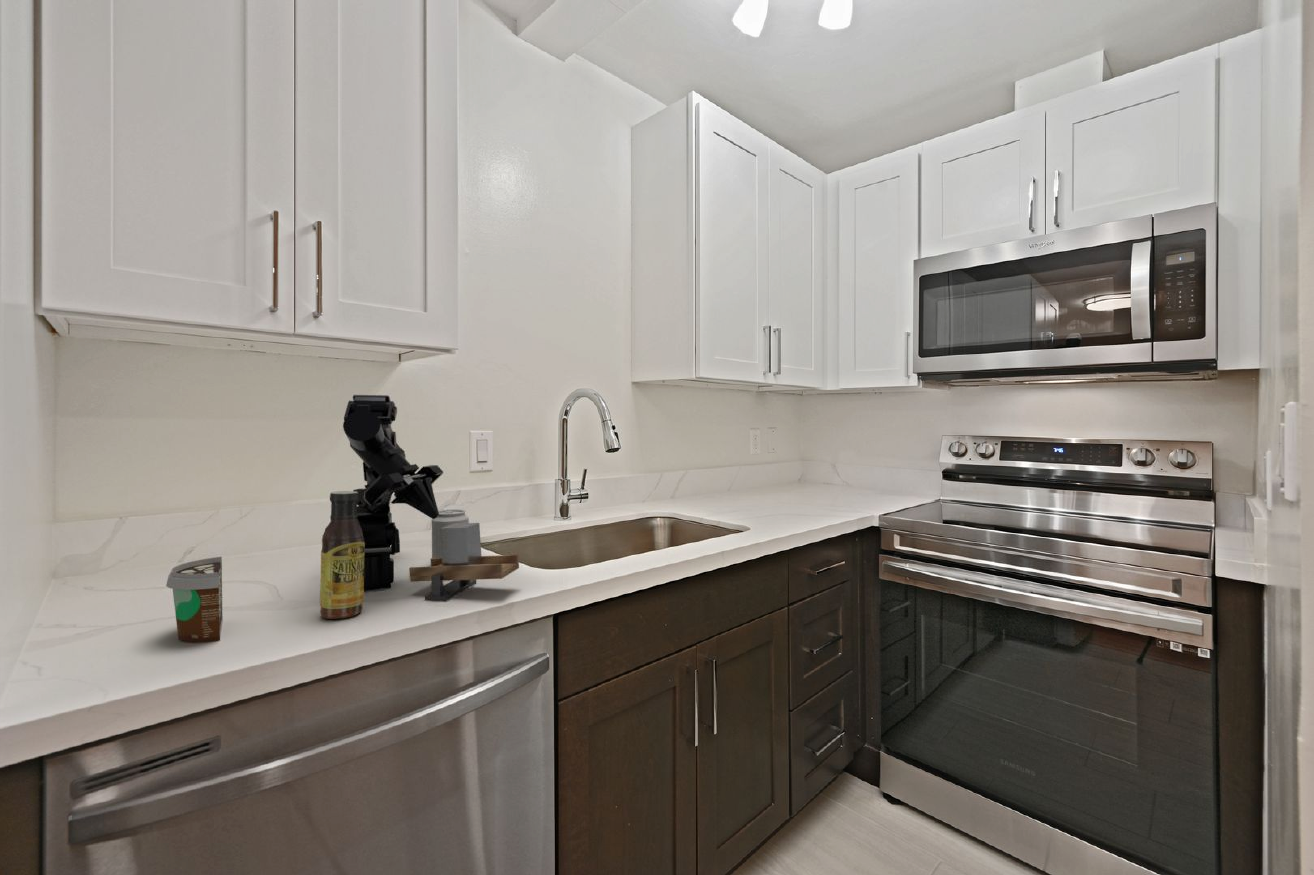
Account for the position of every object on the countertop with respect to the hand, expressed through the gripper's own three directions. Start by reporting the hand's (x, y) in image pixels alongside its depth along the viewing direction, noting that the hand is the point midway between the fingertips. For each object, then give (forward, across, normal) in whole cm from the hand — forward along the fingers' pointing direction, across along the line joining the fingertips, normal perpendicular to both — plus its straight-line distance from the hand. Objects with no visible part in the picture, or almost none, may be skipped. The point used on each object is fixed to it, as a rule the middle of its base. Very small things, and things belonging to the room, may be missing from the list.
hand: (436, 517), depth 107 cm
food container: (-7, +25, -27) cm, 38 cm away
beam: (+12, +1, -3) cm, 12 cm away
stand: (+12, +1, -7) cm, 14 cm away
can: (+6, -16, -13) cm, 22 cm away
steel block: (+10, +1, -2) cm, 11 cm away
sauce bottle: (+4, +15, -16) cm, 22 cm away
